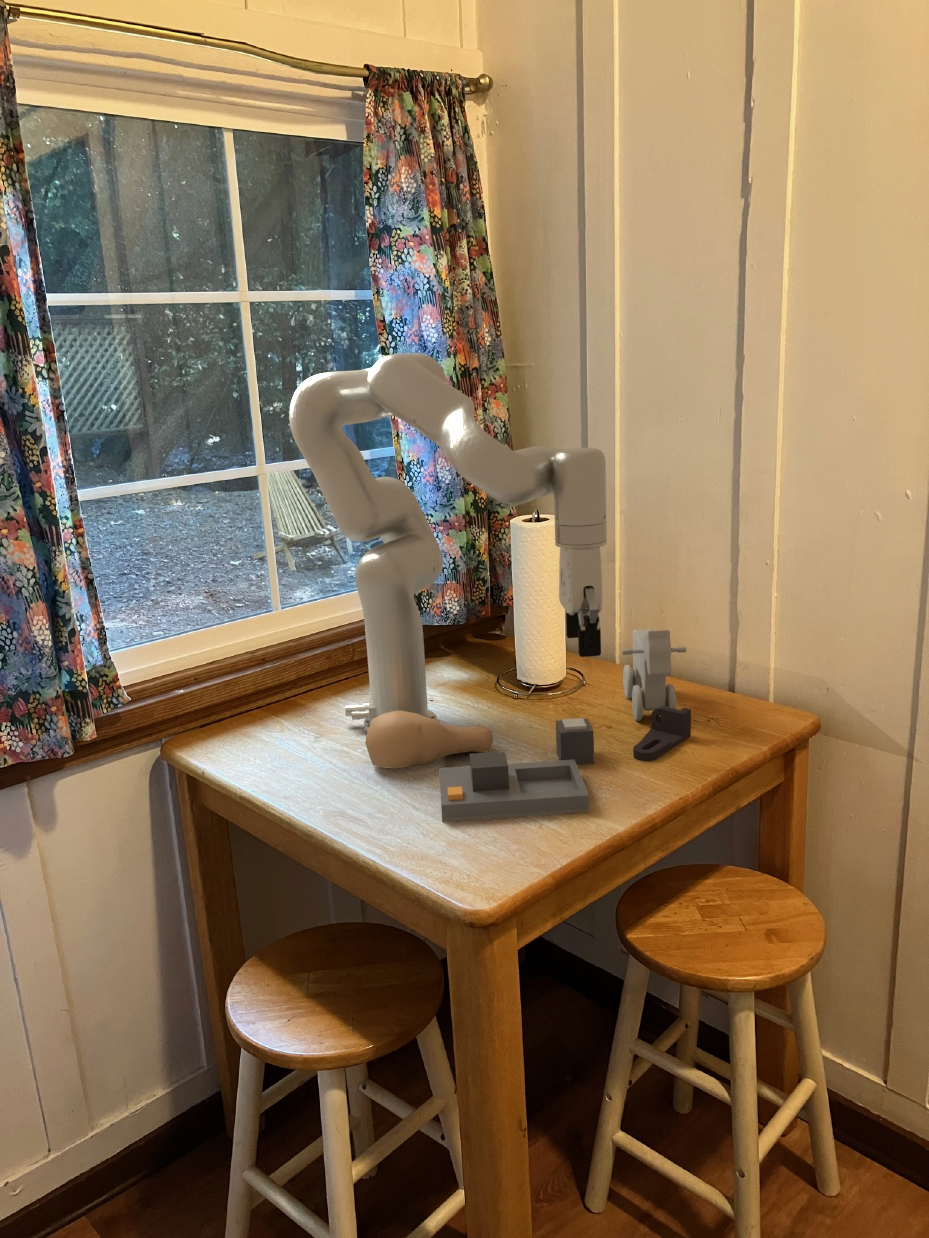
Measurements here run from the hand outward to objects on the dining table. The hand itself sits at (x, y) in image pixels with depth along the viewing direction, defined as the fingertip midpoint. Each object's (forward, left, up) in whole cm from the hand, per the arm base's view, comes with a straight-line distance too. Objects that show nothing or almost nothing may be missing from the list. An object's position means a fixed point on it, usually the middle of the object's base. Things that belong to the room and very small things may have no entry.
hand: (583, 646), depth 145 cm
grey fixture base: (-13, -13, -18) cm, 26 cm away
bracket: (+11, +1, -18) cm, 21 cm away
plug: (-2, -1, -18) cm, 18 cm away
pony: (+14, +17, -18) cm, 28 cm away
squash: (-24, +2, -18) cm, 30 cm away
